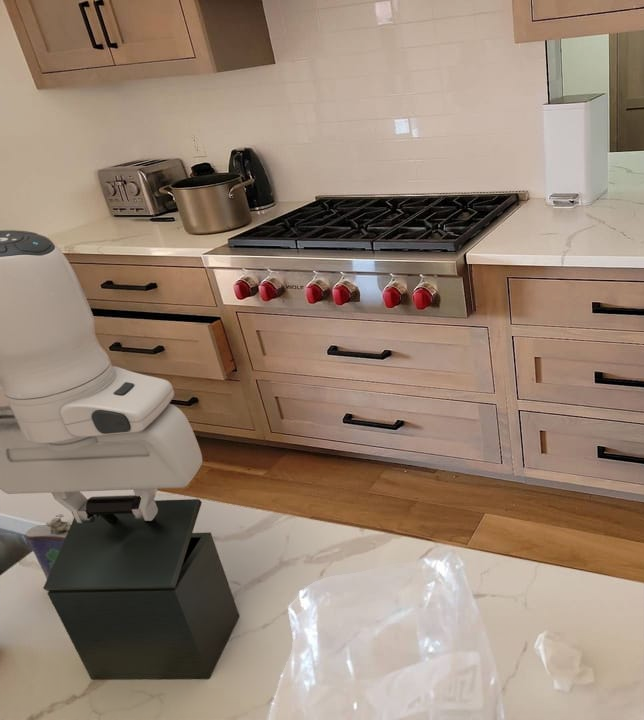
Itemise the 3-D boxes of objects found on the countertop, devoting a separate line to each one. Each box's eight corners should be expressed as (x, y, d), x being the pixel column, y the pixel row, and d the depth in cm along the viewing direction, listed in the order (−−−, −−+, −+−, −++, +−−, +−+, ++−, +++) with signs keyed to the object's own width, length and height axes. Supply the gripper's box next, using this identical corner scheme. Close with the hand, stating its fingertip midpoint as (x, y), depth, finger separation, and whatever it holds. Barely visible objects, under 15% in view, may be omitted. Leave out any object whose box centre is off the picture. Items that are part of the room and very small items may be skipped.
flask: (46, 590, 88) (13, 524, 83) (62, 573, 90) (32, 509, 85) (108, 595, 86) (78, 528, 81) (123, 578, 88) (95, 512, 84)
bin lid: (84, 506, 75) (56, 482, 71) (202, 502, 73) (180, 478, 69) (47, 591, 69) (14, 571, 65) (174, 589, 67) (149, 568, 63)
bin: (132, 617, 82) (95, 535, 76) (239, 616, 80) (210, 532, 75) (90, 679, 74) (46, 593, 69) (209, 679, 73) (174, 590, 67)
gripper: (-57, 425, 62) (4, 542, 68) (154, 415, 60) (198, 536, 66) (-9, 391, 68) (44, 501, 74) (187, 380, 65) (224, 495, 72)
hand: (119, 518), depth 70 cm, fingers closed on bin lid, 5 cm apart
